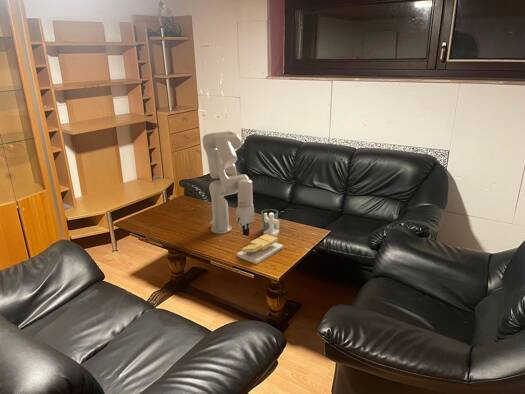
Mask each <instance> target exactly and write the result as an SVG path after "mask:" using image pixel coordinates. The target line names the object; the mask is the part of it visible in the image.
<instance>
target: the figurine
mask: <svg viewBox="0 0 525 394" xmlns="http://www.w3.org/2000/svg"><path fill="white" fill-rule="evenodd" d="M264 221H265V222H267V223H269V228H268V229H267V230H266V231H265V232H264V231H263V235H264V234H268V235H271V236H274V237H277V236H278V235H279V233H280V220H279V219H277V220H276V219H274V213H269V218H268V217H267V213H264ZM274 224H276V229H274Z"/></svg>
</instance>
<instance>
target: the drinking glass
mask: <svg viewBox="0 0 525 394" xmlns="http://www.w3.org/2000/svg"><path fill="white" fill-rule="evenodd" d="M264 213H267V217H268V218H269V213H274V219H276V220H279V219H278V218H279V217H278V216H279V211H278V210H276V209H272V208H268V209H264V210H263V209H262V210H261V213H260V214H261V218H262V230H263V232H265V231H266V230H267V229H268V228H269V223H267V222H265V221H264ZM274 229H276V224H274Z"/></svg>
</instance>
